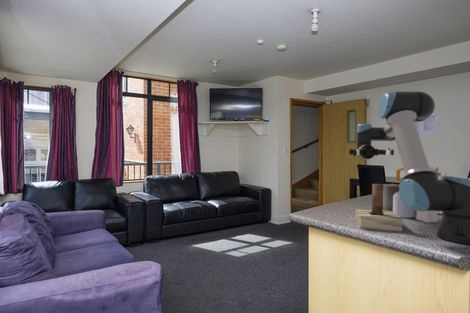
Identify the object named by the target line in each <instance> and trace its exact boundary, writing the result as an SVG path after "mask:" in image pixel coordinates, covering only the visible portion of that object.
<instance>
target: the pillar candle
mask: <svg viewBox="0 0 470 313" xmlns="http://www.w3.org/2000/svg"><path fill="white" fill-rule="evenodd" d="M399 185H400V184H396V183H393V182H392V183H384V184H383V210H384V211H393V195H394V194H395V193H397V192H399V190H400V189H399Z"/></svg>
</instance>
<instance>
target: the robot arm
mask: <svg viewBox="0 0 470 313" xmlns="http://www.w3.org/2000/svg"><path fill="white" fill-rule="evenodd" d="M435 103H436V102H435V100H434V98H433V97H432V96H431V95H430V94H429V93H426V92H425V91H396V90H393V91H387V92H385V93H383V95H382V96H381V97H380V100H379V103H378V117H379V118H381V119H385V120H386V124H387V125H386V126H385V127H376V126H375V127H373V126H372V124H371V123H360V124H357V129H356V149H355V148H354V149H351V148H350V149H349V150H348V151H349V153H348V154H349V155H353V157H356V156H357V157H358V158H360V159H364V161H366V160H371V159H373V158H374V156H376V157H377V156H379V155H382V156H384V155H385V156H394V152H395V150H394V149H391V148H389V147H388V148H387V149H379V148H375V147H374V146H372V142H374V141H376V142H379V141H380V142H381V141H382V142H393V141H395V142H396V147H397V149H398V153H399V157H400V160H401V164H402V168H404V170H403V171H404V176H402V180H403V181H402V182H400V183H399V184H398V185H399V189H400V190H399V195H400V199H401V201H402V203H403V204H404V205H405V206H406V207H407V208H409V209H410V210H414V211H416V212H417V211H437V212H442V216H441V219H440V221H439V224H438V227H437V228H436V237H437V238H439V239H442V240H444V241H447V242H450V243H455V244H463V245H470V178H465V177H464V178H463V177H456V176H455V177H454V176H448V175H446V176H444V177H443V180H442V179H438V177H437V174H436V172H434V171H432V170H430V169H431V167H430V166H429V162H428V159H427V156H426V152H425V150H424V146H423V144H422V141H421V138H420V135H419V131H418V129H417V125H416V124H417V123H419V122H420V123H421V122H424V121H425V120H428V119H429V118H430V117H431V116H432V115H433V113H434V111H435V108H436V104H435ZM429 167H430V168H429Z"/></svg>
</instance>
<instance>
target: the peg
mask: <svg viewBox="0 0 470 313" xmlns="http://www.w3.org/2000/svg"><path fill="white" fill-rule="evenodd" d="M371 185H372V186H371V187H372V188H371V192H372V193H371V210H372V215H380V216H383V211H384V209H383V184H382V183H372V184H371Z"/></svg>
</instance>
